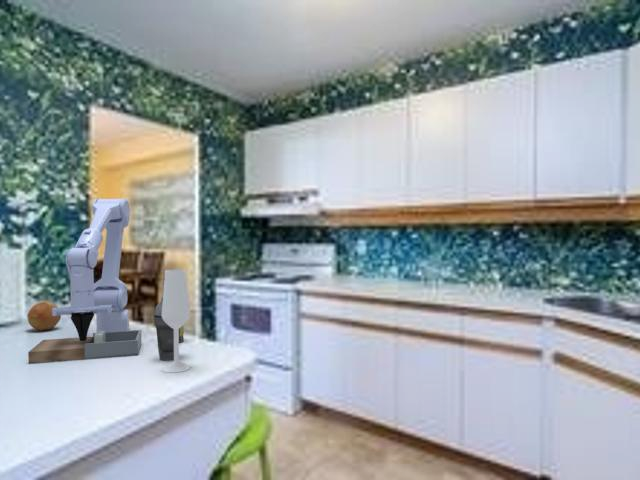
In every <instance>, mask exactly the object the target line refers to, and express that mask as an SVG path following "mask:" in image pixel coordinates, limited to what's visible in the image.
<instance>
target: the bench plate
mask: <svg viewBox="0 0 640 480" xmlns="http://www.w3.org/2000/svg"><path fill="white" fill-rule="evenodd" d="M87 343H93V336H87V339H86V341H80V339H79V337H65V338H51V339H43V340H41V341H40V342H38V344H36V345H35V346H34V347H33V348H31V349H30V350H29V351H28V352H27V353H28V355H27V356H28V357H27V358H28V365H30V364H42V363H43V364H44V363H53V362H54V363H55V361H57V362H67V361H66V360H70V361H78V360H79V361H82V360H86V359H85V344H87Z"/></svg>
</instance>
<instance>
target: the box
mask: <svg viewBox="0 0 640 480" xmlns="http://www.w3.org/2000/svg"><path fill="white" fill-rule="evenodd" d="M96 333H97V332H93V334H92V337H93V343H87V344H85V359H84V360H92V359H93V360H95V359H106V358H108V359H109V358H116V357H117V358H119V357H121V358H122V357H132V356H139V352H140V349H141V346H142V329H138V330H136V329H135V330H130V331H118V332H105V339H106V342H101V343H94V335H95V334H96Z"/></svg>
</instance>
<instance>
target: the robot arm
mask: <svg viewBox="0 0 640 480" xmlns="http://www.w3.org/2000/svg"><path fill="white" fill-rule="evenodd" d="M91 209H92V211H91V212H92V215H93V216H92V219H91V222H90V225H89V227H88V228H85V229H83V231H82V232H81V234H80V236H79V238H78V241H77V242H76V244H75V246H74V247H72V248H70V249H68V250H67V252H66V254H65V265H66V267H67V274H68V275H69V278H70V280H69V281H70V306H62V307H58V308H53V309H52V316H57V315H61V316H70V315H71V316H70V321H71V322H72V323H73V325H74V328H75V329H76V332H77V334H78V338H79V339H80V341H86V339H87V337H88V332H89V328H90V325H91V323H92V320H93V318H94V317H96V332H97V331H105V332H118V331H131V330H130V329H131V328H130V315H129V314H130V311H129V309H125V307H126V306H127V304H128V286H127V285H126V284H125V282H123V281H122V280H121V279H120V278H119V277H120V268H121V267H120V266H121V259H122V257H121V256H122V250H123V249H122V247H123V237H124V229H125V228H126V227H128V226H129V224H130V223H129V222H130V216H131V207H130V203H129V201H128V199H127V198H124V197H123V198H95V199H94V200H93V202H92V206H91ZM104 230H106V234H105V245H104V251H103V252H104V253H103V263H102V270H101V272H102V273H101V278H100V279H98V280H97V281H96V282H95V279H94V276H95V275H94V268H95V267H96V266H97V264H98V257H99V249H100V247H101V245H102V243H103V239H104V236H103V232H104ZM95 315H96V316H95Z"/></svg>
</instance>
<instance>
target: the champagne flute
mask: <svg viewBox="0 0 640 480" xmlns="http://www.w3.org/2000/svg"><path fill="white" fill-rule="evenodd" d="M164 277H165V279H164V278H163V283H164V291H162V297H163V303H162V315H161V316H162V319H163V320H164V322H165V323H166V324H167V325H168V326H170V327H171V328H173V329H174V360H172V362H170V363H169V364H167V365H165V367H164V366H163V368H162V371H163V372H165V373H180V372H185V371H188V370H190V369H191V368H190V366H191V365H189V364H187V363H185V362H183V361H181V359H180V344H179V343H180V342H179V328H180V327H182V326H183V327H184V325H185V324H186V323H187V322H188V320H189V319H190V317H191V309H190V300H189V292H188V291H189V290H188V281H187V274H186V269H166V270H164Z"/></svg>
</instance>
